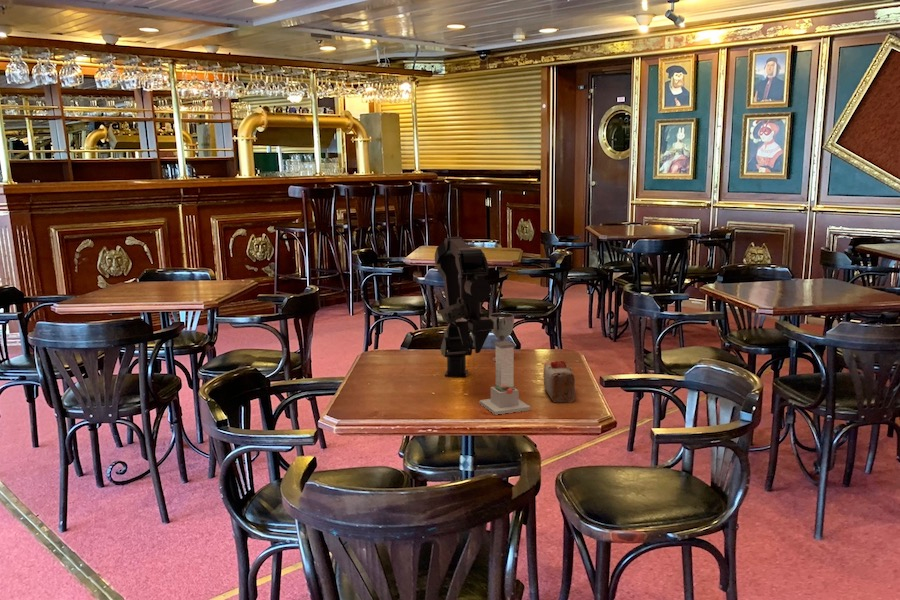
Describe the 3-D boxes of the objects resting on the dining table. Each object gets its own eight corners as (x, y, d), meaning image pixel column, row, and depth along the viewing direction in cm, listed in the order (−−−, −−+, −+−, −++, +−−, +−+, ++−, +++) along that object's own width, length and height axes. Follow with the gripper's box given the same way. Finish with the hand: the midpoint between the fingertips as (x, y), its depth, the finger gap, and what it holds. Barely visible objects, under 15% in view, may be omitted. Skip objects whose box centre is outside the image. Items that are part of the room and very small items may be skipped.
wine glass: (485, 358, 239) (485, 314, 236) (505, 355, 242) (505, 311, 240) (497, 363, 232) (497, 318, 229) (518, 360, 235) (518, 315, 233)
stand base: (479, 403, 192) (479, 383, 191) (513, 399, 195) (513, 378, 194) (495, 415, 183) (495, 393, 182) (530, 410, 186) (530, 388, 185)
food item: (540, 388, 205) (540, 355, 203) (568, 387, 205) (568, 354, 204) (549, 403, 191) (550, 368, 190) (579, 402, 192) (580, 367, 190)
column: (494, 388, 189) (494, 342, 187) (508, 386, 191) (508, 340, 188) (500, 392, 186) (500, 345, 183) (514, 390, 187) (514, 344, 185)
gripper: (431, 291, 205) (432, 344, 207) (456, 301, 188) (456, 360, 190) (467, 288, 209) (468, 341, 211) (494, 298, 191) (494, 355, 194)
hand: (471, 349), depth 202 cm, fingers open, 9 cm apart
